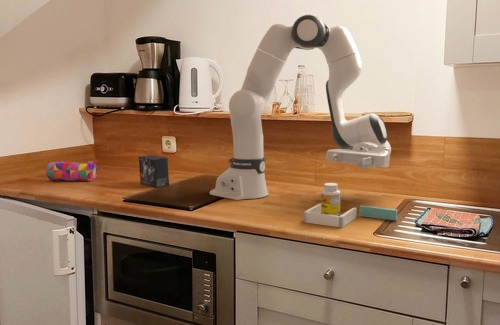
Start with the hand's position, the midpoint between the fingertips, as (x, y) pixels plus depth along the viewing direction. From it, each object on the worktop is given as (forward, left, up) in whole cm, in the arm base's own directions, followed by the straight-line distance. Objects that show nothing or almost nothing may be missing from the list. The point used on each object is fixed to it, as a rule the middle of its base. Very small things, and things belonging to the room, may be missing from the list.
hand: (347, 160), depth 145 cm
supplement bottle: (-1, -12, -16) cm, 20 cm away
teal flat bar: (+11, -4, -16) cm, 20 cm away
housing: (-1, -12, -16) cm, 20 cm away
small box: (-86, +3, -17) cm, 87 cm away
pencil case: (-126, -6, -17) cm, 127 cm away
